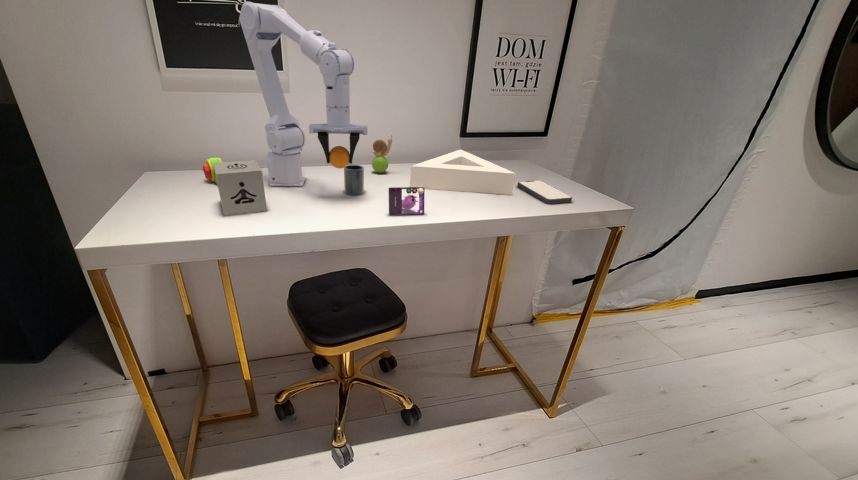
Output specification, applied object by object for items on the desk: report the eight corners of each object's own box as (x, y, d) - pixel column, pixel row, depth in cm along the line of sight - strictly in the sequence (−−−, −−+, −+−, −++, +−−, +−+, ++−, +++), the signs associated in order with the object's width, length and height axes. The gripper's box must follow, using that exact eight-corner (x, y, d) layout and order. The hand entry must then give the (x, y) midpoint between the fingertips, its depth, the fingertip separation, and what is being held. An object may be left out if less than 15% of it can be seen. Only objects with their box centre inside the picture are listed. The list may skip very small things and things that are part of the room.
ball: (328, 170, 101) (327, 148, 98) (329, 164, 105) (328, 143, 102) (350, 171, 101) (349, 149, 98) (350, 165, 106) (350, 144, 103)
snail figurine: (390, 175, 127) (392, 136, 120) (371, 174, 127) (371, 135, 120) (391, 170, 131) (392, 133, 125) (372, 169, 131) (372, 132, 125)
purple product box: (389, 187, 95) (425, 187, 96) (386, 188, 100) (420, 187, 101) (389, 215, 96) (425, 214, 98) (386, 214, 101) (420, 213, 103)
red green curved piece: (211, 188, 110) (206, 164, 106) (197, 170, 123) (192, 149, 120) (234, 184, 113) (230, 161, 109) (218, 168, 126) (214, 147, 123)
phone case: (573, 203, 111) (539, 184, 124) (574, 197, 110) (540, 179, 123) (546, 205, 108) (514, 186, 121) (548, 200, 108) (516, 181, 120)
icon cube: (220, 201, 101) (213, 162, 96) (260, 197, 105) (255, 159, 99) (224, 215, 93) (216, 174, 88) (267, 210, 97) (261, 170, 92)
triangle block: (511, 195, 114) (516, 173, 111) (433, 204, 105) (435, 181, 102) (458, 167, 138) (460, 149, 134) (390, 173, 129) (391, 153, 125)
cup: (344, 195, 109) (343, 170, 105) (344, 188, 113) (344, 164, 110) (363, 195, 109) (363, 170, 106) (363, 189, 114) (363, 165, 110)
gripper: (306, 107, 91) (310, 166, 99) (367, 109, 93) (367, 167, 100) (309, 103, 97) (312, 158, 105) (367, 105, 99) (366, 160, 106)
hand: (339, 162), depth 102 cm, fingers closed on ball, 5 cm apart
